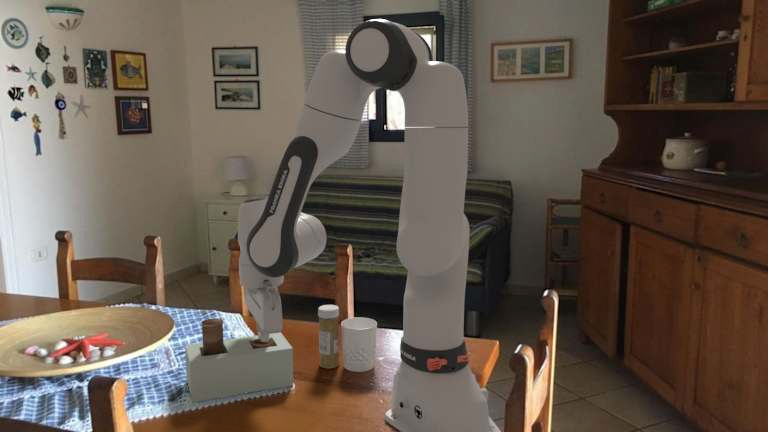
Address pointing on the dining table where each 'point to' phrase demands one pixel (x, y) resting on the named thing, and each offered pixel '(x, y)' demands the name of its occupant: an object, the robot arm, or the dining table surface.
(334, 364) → the sprinkles bottle
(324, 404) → the dining table surface
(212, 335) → the peg
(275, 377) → the block
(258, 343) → the peg
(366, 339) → the white cup
